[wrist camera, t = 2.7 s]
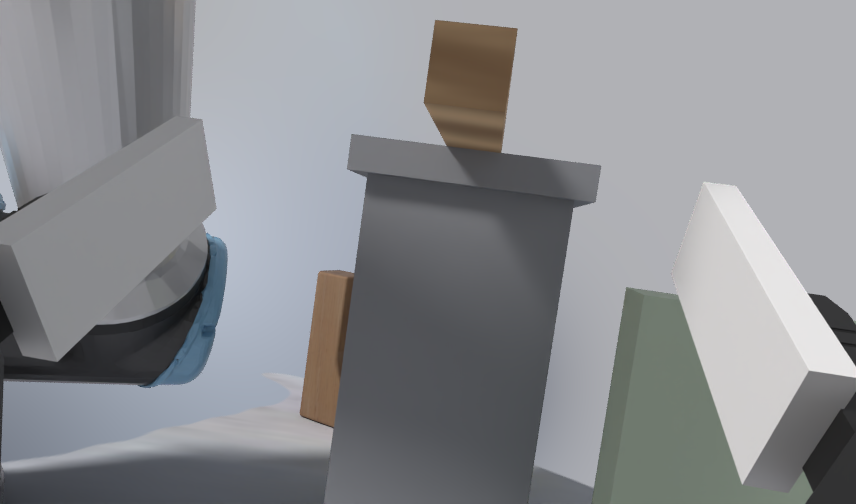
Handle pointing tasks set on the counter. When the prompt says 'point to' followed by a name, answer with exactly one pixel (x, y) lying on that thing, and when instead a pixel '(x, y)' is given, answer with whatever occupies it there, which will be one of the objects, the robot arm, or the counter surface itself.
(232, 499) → the counter surface
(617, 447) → the green block
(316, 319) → the wooden block
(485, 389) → the stand
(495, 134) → the oak bar
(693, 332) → the robot arm
